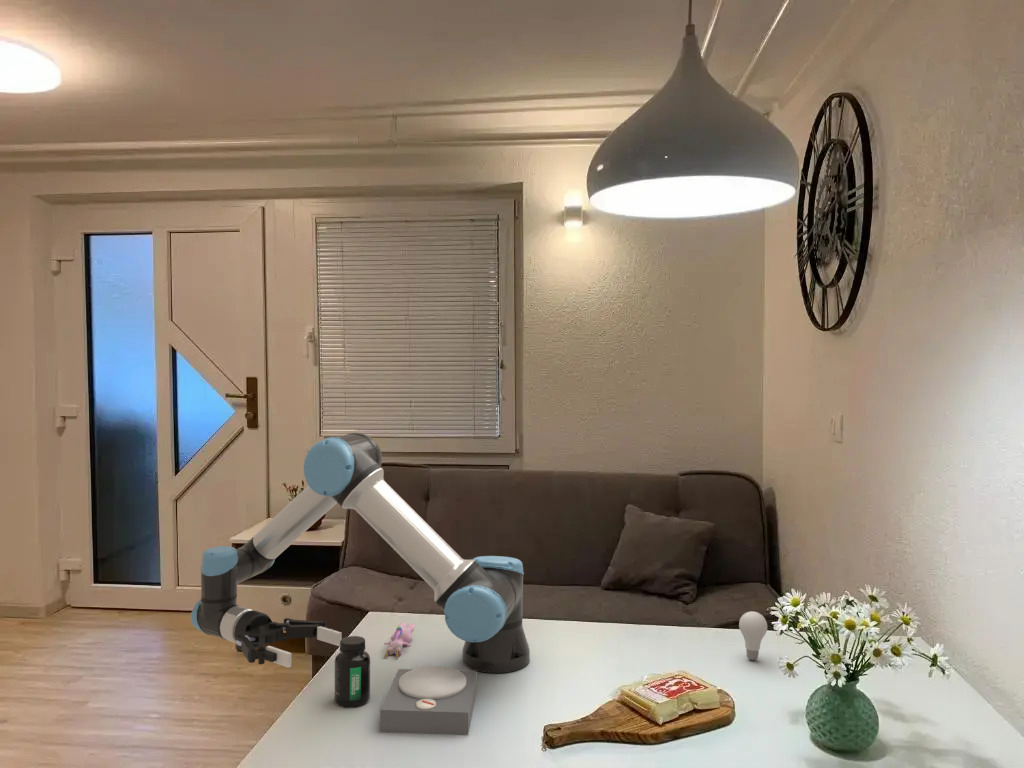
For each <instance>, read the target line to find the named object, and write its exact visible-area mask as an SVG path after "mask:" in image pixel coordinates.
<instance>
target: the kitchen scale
mask: <svg viewBox="0 0 1024 768" xmlns="http://www.w3.org/2000/svg"><path fill="white" fill-rule="evenodd" d="M477 676H478V671H477V670H458V669H455V668H453V667H448V666H441V665H440V666H439V665H438V666H437V665H436V666H433V665H432V666H429V665H428V666H423V667H417V668H413V669H412V668H411V669H409V668H398V669H397V672H396V673H395V676H394V678H393V680H392V683H391V685H390V687H389V689H388V691H387V693H386V695H385V698H384V700H383V702H382V703H381V707H380V709H379V733H381V732H382V733H408V734H409V733H412V734H413V733H414V734H415V733H416V734H439V735H443V734H444V735H469V733H470V726H471V721H472V716H473V712H474V711H473V710H474V705H475V701H476V696H477V689H478V686H477V685H478V683H477V682H478V677H477Z"/></svg>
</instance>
